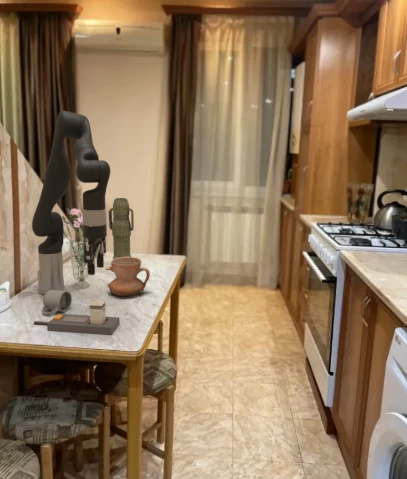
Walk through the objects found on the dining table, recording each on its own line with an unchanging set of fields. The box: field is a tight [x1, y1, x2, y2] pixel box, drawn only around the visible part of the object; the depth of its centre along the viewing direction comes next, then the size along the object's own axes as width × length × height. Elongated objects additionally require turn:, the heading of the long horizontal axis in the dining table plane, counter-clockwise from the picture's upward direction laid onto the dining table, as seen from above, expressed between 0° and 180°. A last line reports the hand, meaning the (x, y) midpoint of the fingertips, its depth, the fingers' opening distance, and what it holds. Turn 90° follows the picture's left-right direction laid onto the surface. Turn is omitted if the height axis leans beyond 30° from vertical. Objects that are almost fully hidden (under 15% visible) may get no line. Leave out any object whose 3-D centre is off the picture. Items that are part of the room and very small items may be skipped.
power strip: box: [33, 313, 121, 336], centre depth 158 cm, size 29×9×3 cm, turn 83°
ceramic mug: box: [41, 290, 73, 317], centre depth 171 cm, size 11×8×8 cm
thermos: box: [108, 197, 135, 260], centre depth 221 cm, size 9×12×35 cm
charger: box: [89, 300, 107, 325], centre depth 156 cm, size 4×4×9 cm
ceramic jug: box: [105, 256, 151, 297], centre depth 191 cm, size 18×14×14 cm
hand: (95, 270), depth 154 cm, fingers open, 8 cm apart
